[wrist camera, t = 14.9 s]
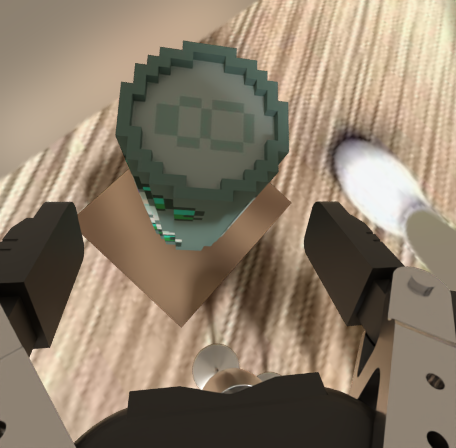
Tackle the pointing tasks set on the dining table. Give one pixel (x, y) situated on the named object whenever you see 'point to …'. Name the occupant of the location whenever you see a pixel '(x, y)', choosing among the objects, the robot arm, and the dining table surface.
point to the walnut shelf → (171, 246)
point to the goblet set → (223, 371)
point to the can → (200, 139)
